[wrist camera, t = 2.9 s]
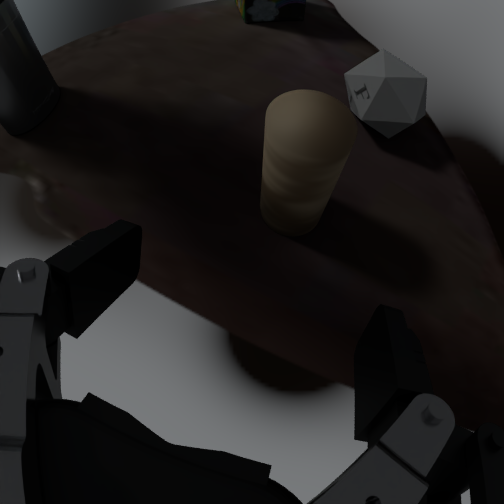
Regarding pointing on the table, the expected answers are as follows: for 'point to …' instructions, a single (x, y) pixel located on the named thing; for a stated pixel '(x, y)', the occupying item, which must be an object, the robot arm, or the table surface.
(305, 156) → the oak cylinder
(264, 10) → the chalk box
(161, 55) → the table surface
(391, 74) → the die
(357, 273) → the table surface
